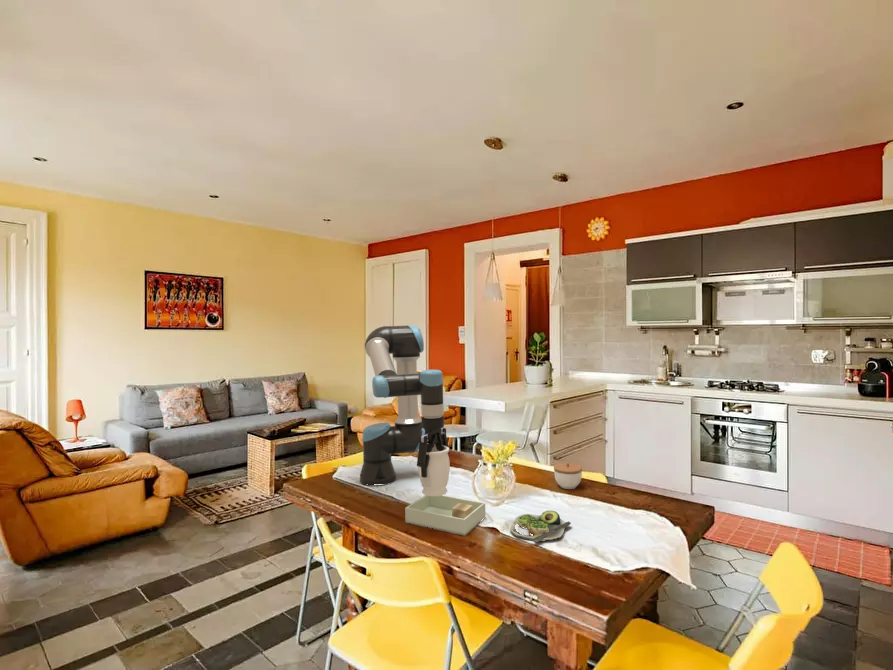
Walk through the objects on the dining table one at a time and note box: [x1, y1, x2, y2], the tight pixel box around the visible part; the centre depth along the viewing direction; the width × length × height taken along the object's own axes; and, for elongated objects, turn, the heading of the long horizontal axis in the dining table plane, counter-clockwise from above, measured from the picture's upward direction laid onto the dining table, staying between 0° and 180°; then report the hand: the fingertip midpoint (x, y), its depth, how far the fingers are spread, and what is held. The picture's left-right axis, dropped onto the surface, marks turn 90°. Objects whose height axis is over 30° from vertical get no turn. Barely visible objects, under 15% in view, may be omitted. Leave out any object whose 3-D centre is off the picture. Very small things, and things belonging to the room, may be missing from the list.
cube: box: [452, 503, 473, 519], centre depth 161 cm, size 5×5×5 cm
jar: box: [417, 445, 451, 496], centre depth 166 cm, size 11×10×15 cm
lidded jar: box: [553, 462, 583, 490], centre depth 193 cm, size 11×11×9 cm
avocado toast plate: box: [509, 510, 572, 543], centre depth 154 cm, size 19×18×5 cm
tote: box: [404, 495, 486, 537], centre depth 164 cm, size 15×22×5 cm
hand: (434, 481), depth 166 cm, fingers closed on jar, 10 cm apart
